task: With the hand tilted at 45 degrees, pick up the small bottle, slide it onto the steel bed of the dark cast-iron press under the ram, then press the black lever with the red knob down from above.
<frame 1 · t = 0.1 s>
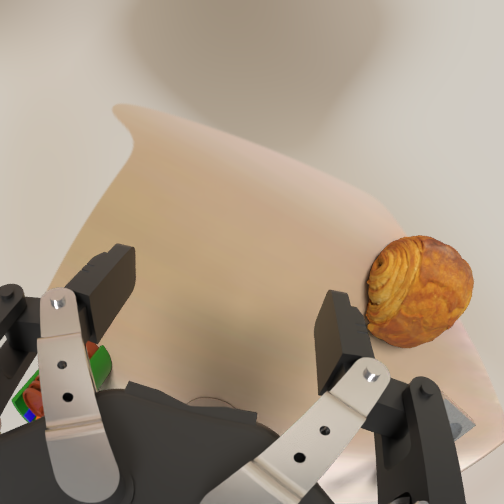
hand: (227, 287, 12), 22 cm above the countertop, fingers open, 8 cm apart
croissant: (411, 286, 36), on the countertop
press: (439, 431, 46), on the countertop
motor: (88, 355, 44), on the countertop
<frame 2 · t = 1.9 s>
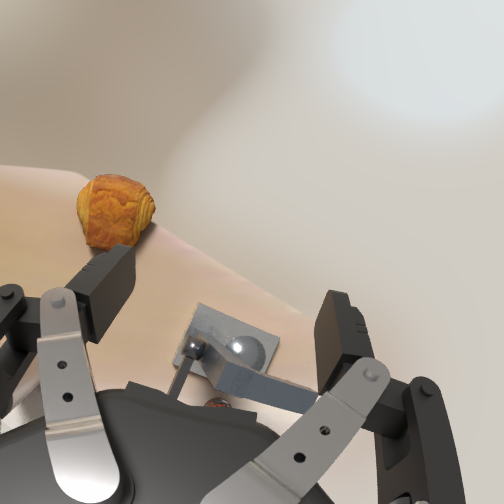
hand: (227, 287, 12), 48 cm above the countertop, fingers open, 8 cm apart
croissant: (114, 215, 56), on the countertop
press: (241, 355, 61), on the countertop
supplement bottle: (216, 409, 58), on the countertop
lever: (173, 394, 41), point 16 cm above the countertop, hinge at 0.0°
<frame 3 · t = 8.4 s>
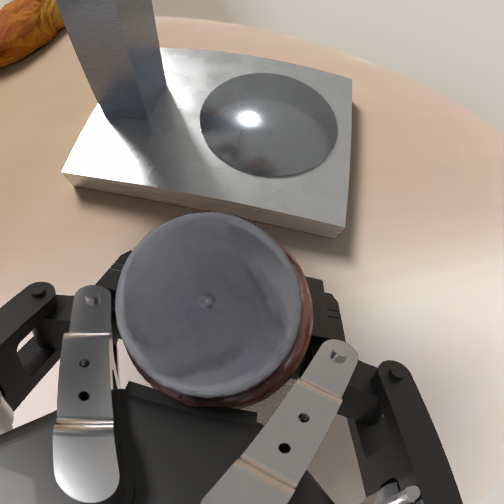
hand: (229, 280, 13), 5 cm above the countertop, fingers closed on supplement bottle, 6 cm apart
croissant: (30, 39, 25), on the countertop
press: (266, 136, 21), on the countertop
supplement bottle: (223, 326, 17), on the countertop, touching gripper
when the fingers open (8 cm above the countertop, at t = 13.9 s): supplement bottle drops 1 cm, resting on press.
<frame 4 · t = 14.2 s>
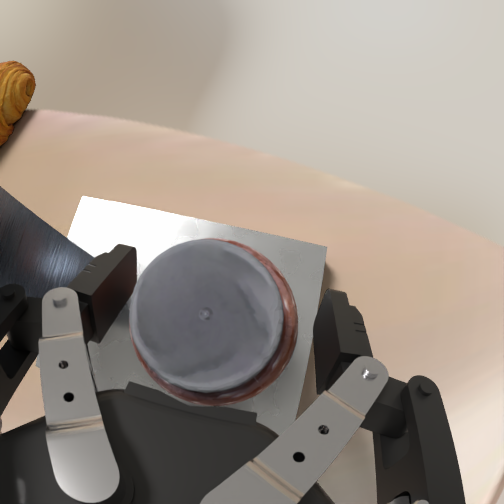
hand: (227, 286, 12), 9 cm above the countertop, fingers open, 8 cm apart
press: (224, 328, 20), on the countertop
supplement bottle: (220, 330, 18), point 2 cm above the countertop, touching press
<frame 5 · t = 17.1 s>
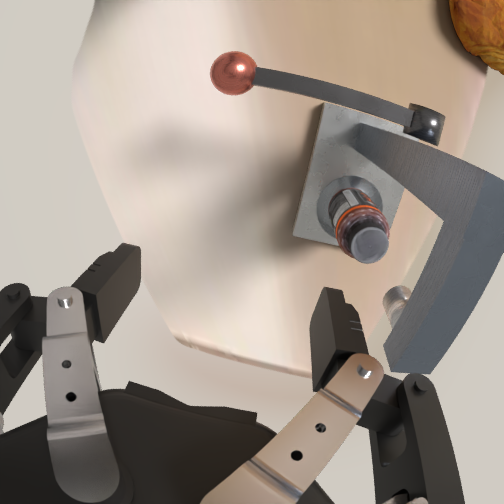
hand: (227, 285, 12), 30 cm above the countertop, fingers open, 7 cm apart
croissant: (481, 24, 25), on the countertop
press: (347, 204, 41), on the countertop
supplement bottle: (349, 207, 39), point 2 cm above the countertop, touching press
lever: (334, 93, 20), point 16 cm above the countertop, hinge at 0.0°
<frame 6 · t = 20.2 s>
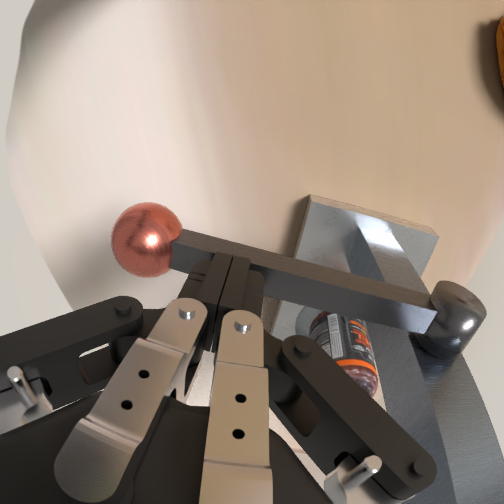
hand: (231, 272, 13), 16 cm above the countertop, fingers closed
press: (335, 315, 33), on the countertop
supplement bottle: (336, 325, 31), point 2 cm above the countertop, touching press
lever: (305, 283, 14), point 15 cm above the countertop, hinge at 5.6°, touching gripper
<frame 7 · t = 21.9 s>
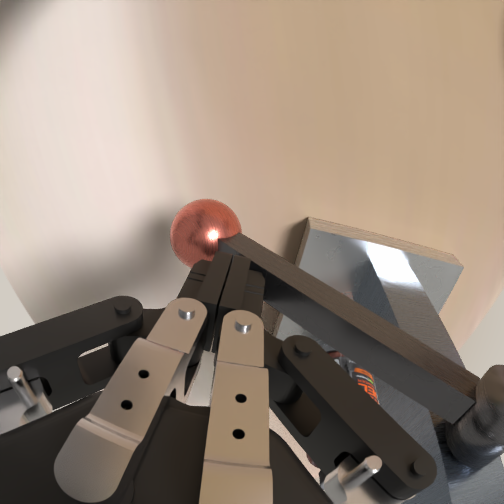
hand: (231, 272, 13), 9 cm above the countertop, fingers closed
press: (336, 353, 28), on the countertop
supplement bottle: (337, 367, 26), point 2 cm above the countertop, touching press
lever: (336, 319, 11), point 11 cm above the countertop, hinge at 37.2°, touching gripper
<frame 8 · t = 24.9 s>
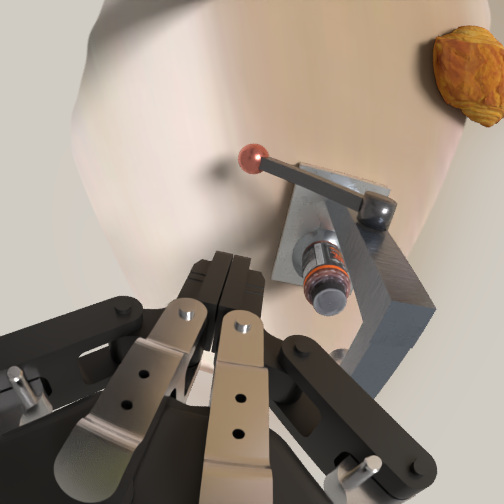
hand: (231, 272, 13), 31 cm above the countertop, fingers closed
croissant: (466, 72, 31), on the countertop
press: (321, 251, 47), on the countertop
supplement bottle: (321, 256, 45), point 2 cm above the countertop, touching press
lever: (308, 180, 31), point 11 cm above the countertop, hinge at 37.2°
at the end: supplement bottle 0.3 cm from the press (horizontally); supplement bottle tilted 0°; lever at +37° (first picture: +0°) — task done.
